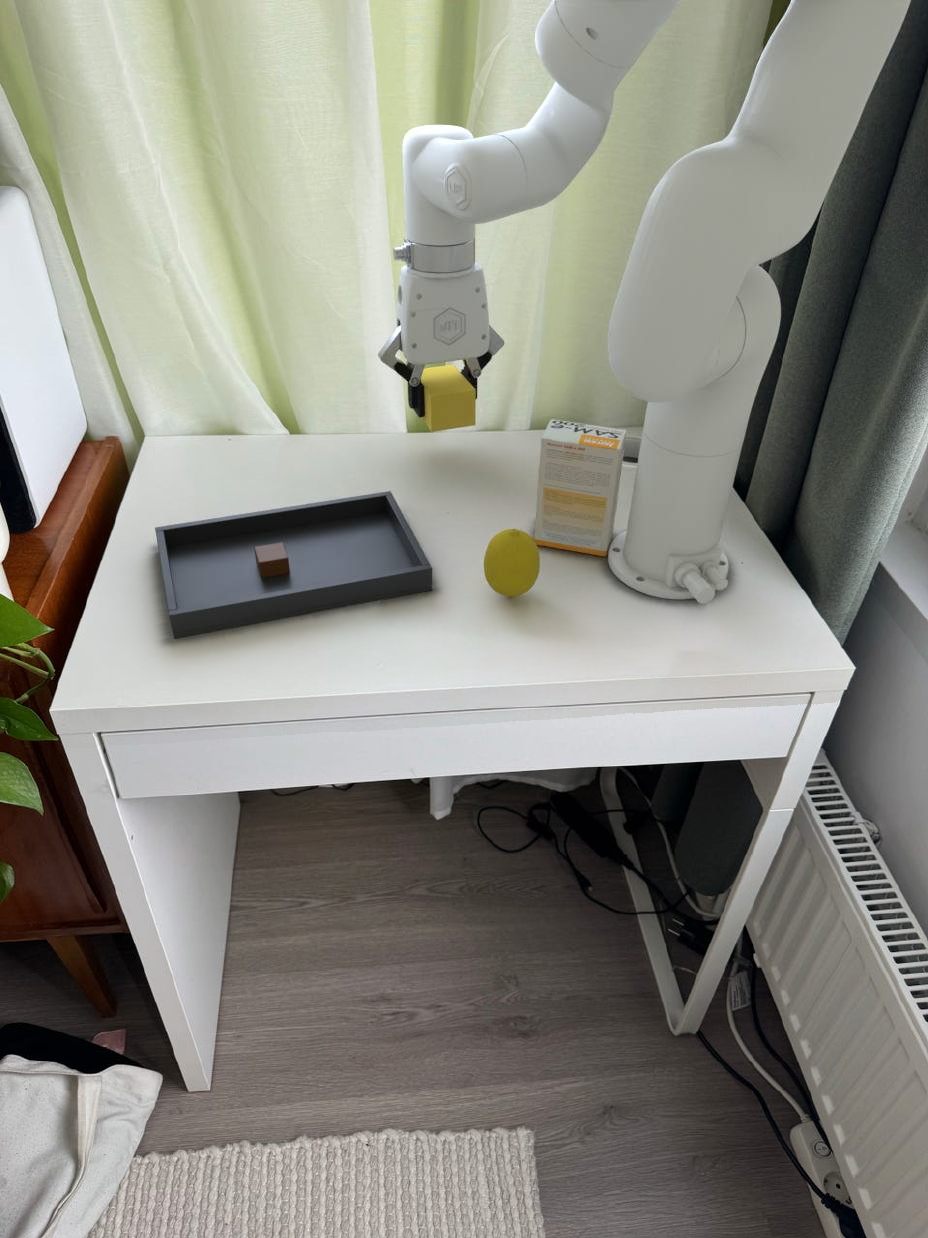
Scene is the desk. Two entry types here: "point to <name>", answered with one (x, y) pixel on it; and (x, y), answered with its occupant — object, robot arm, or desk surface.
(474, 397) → the sponge
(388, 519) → the pan
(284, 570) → the brown block
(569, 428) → the supplement box
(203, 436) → the desk surface
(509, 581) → the lemon
